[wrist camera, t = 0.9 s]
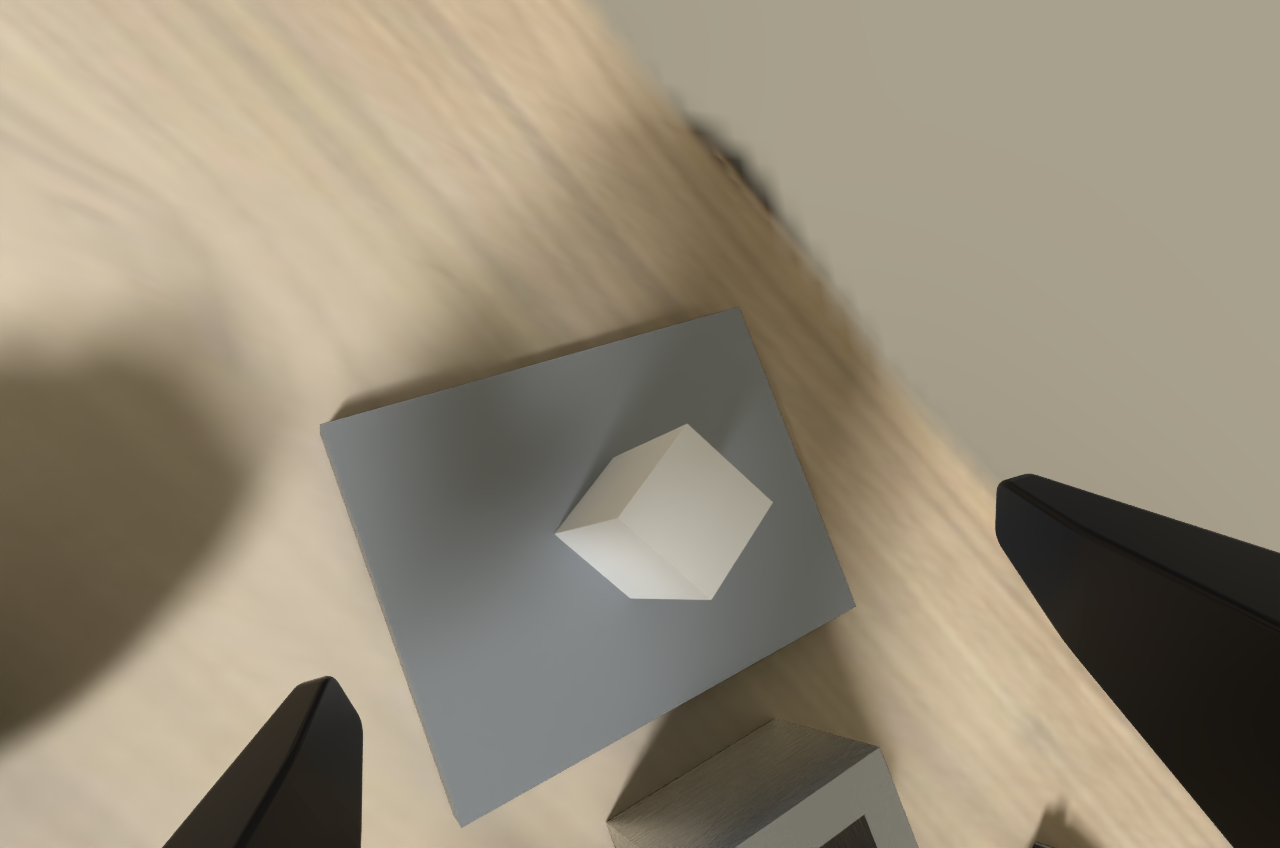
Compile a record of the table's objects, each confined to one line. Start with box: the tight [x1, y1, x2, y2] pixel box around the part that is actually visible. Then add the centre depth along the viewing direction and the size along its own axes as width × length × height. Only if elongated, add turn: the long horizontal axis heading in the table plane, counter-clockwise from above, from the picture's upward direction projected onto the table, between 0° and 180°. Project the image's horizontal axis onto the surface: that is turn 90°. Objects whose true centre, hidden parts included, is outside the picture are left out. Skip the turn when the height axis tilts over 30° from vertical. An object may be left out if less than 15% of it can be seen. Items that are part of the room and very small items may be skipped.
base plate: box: [320, 307, 856, 828], centre depth 20 cm, size 11×14×6 cm
